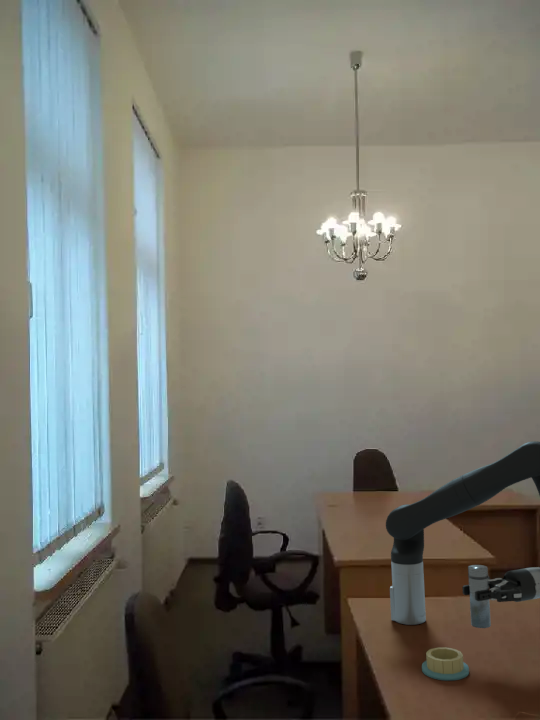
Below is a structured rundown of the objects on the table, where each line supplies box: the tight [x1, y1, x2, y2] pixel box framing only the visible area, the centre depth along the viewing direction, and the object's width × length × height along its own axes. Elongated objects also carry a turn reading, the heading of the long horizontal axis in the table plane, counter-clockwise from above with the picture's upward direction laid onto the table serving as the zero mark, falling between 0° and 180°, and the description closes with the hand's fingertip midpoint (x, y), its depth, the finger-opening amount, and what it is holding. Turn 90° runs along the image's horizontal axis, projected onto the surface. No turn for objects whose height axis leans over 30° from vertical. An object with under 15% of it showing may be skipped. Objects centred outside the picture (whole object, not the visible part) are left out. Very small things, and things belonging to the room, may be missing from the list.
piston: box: [467, 564, 492, 629], centre depth 172 cm, size 5×5×14 cm
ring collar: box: [421, 646, 470, 682], centre depth 169 cm, size 11×11×4 cm
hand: (469, 593), depth 172 cm, fingers closed on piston, 4 cm apart
